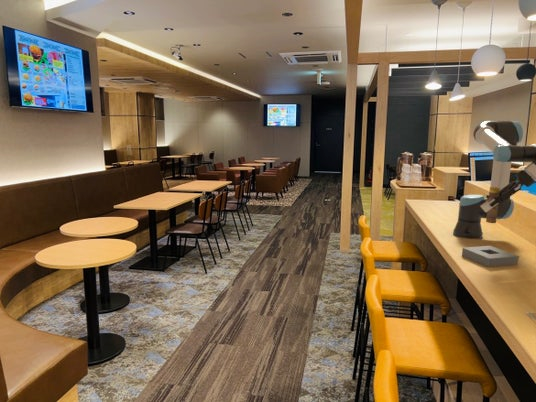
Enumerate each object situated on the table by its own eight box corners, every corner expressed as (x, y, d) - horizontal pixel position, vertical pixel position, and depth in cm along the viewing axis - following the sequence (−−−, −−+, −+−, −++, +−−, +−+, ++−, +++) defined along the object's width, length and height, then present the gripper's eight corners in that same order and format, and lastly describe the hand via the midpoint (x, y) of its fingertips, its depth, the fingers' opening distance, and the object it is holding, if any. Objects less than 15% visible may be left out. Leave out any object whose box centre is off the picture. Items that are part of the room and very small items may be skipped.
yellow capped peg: (491, 221, 182) (494, 187, 179) (498, 222, 178) (502, 188, 175) (484, 221, 181) (487, 187, 178) (490, 223, 177) (494, 188, 174)
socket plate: (489, 253, 190) (490, 245, 190) (517, 264, 175) (518, 256, 174) (461, 255, 186) (462, 247, 185) (488, 267, 171) (489, 258, 170)
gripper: (541, 184, 163) (491, 218, 172) (531, 180, 178) (486, 212, 187) (527, 170, 164) (479, 206, 173) (519, 167, 179) (475, 200, 188)
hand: (483, 209), depth 180 cm, fingers closed on yellow capped peg, 4 cm apart
